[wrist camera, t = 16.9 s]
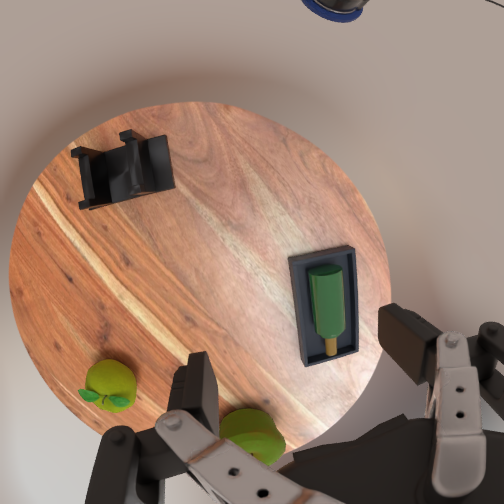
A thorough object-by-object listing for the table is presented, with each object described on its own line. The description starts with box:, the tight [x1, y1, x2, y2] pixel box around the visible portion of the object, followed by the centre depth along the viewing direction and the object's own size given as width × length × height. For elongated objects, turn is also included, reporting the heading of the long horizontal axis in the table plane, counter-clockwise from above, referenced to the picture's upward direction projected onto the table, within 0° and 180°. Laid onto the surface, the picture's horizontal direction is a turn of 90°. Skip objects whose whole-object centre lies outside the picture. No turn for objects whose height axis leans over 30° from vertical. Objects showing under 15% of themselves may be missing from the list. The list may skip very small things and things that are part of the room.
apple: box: [219, 408, 286, 466], centre depth 44 cm, size 12×12×11 cm
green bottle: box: [308, 264, 346, 356], centre depth 43 cm, size 15×5×5 cm, turn 10°
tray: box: [288, 245, 359, 367], centre depth 45 cm, size 19×10×3 cm, turn 10°
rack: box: [71, 129, 175, 210], centre depth 33 cm, size 14×8×9 cm, turn 100°
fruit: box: [78, 359, 137, 413], centre depth 40 cm, size 9×9×10 cm
